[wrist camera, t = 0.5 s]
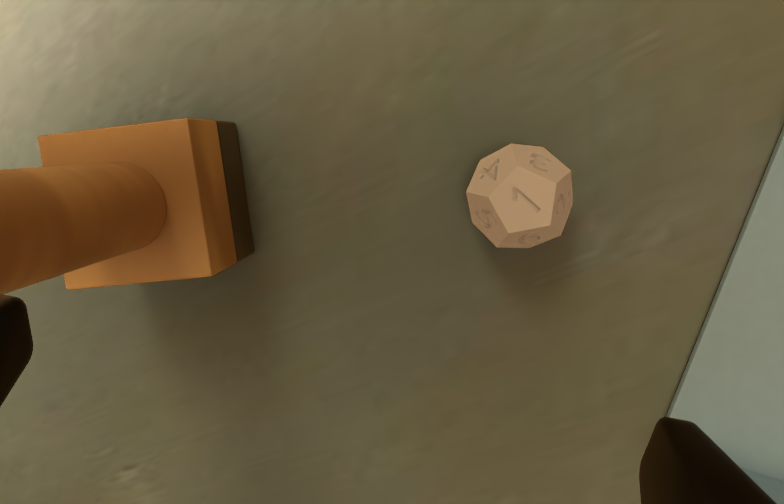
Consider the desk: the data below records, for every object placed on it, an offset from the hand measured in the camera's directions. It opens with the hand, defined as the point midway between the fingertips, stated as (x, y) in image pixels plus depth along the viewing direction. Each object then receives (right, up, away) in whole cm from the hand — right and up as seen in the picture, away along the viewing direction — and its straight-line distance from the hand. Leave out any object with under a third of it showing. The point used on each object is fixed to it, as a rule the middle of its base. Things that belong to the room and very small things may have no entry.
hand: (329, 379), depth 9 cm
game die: (+5, +4, +15) cm, 17 cm away
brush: (-7, +4, +16) cm, 18 cm away
